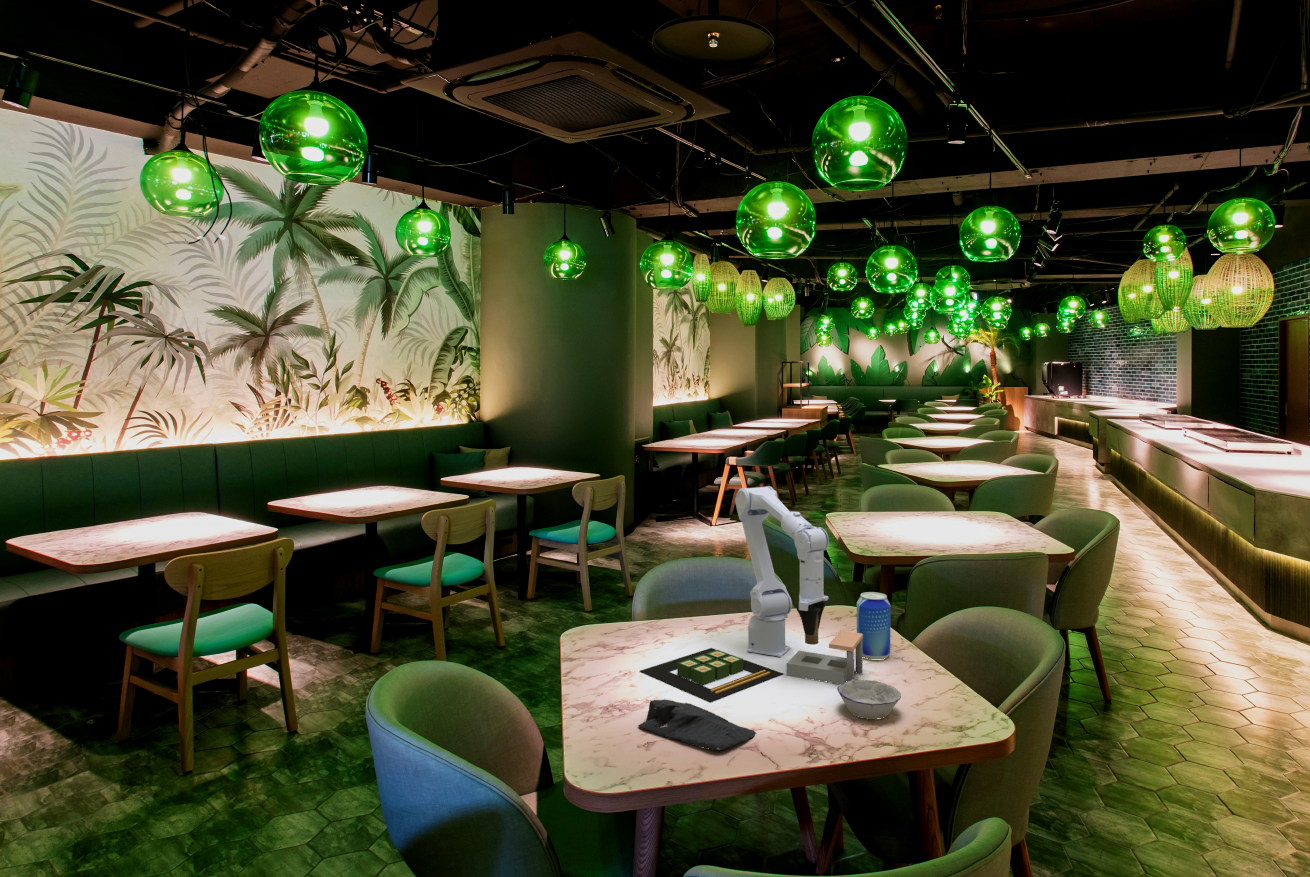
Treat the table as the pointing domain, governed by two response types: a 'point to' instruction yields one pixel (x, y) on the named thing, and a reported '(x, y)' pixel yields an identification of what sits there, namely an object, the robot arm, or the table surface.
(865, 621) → the beer can
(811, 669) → the socket plate
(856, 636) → the raised peach slab
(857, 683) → the bowl
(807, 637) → the peg
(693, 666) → the sushi
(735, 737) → the black folded cloth
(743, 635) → the table surface
